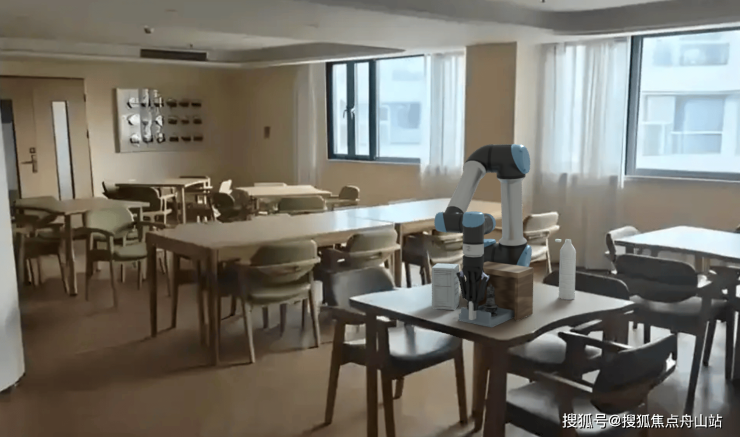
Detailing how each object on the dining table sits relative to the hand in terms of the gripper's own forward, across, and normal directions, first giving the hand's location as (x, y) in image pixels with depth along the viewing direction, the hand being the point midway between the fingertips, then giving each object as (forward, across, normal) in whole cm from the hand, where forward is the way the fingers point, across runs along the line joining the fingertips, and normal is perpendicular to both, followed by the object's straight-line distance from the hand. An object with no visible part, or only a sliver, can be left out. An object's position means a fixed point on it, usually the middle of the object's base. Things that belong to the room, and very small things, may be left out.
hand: (472, 318), depth 238 cm
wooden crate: (+2, 0, +21) cm, 21 cm away
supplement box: (+3, -22, +15) cm, 27 cm away
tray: (+2, 0, +10) cm, 10 cm away
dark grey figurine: (+1, 0, +12) cm, 13 cm away
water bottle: (+3, +9, +57) cm, 58 cm away
